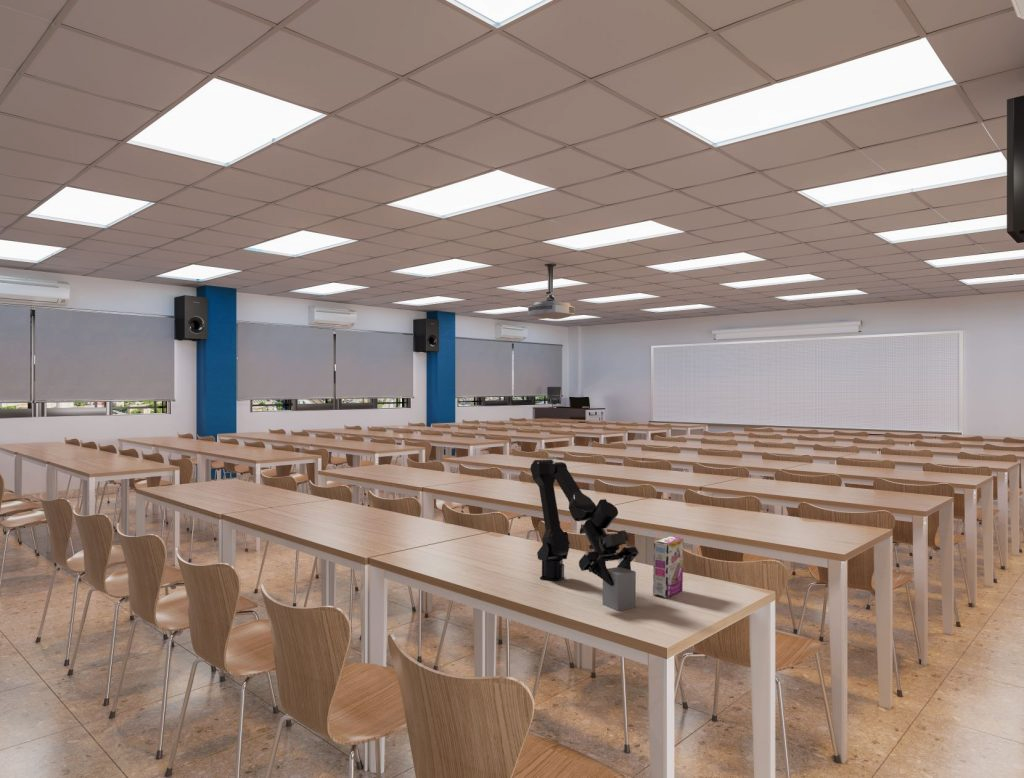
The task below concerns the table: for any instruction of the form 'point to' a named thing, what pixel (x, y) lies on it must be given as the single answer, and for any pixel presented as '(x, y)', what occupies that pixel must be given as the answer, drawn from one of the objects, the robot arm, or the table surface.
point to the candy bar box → (668, 566)
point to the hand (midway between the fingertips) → (622, 583)
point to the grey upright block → (620, 589)
